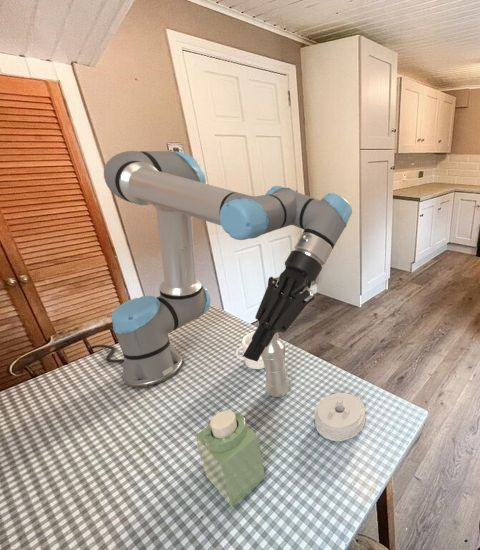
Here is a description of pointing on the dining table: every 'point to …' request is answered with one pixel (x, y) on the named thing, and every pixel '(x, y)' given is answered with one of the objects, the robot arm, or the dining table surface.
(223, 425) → the beige short cylinder
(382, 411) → the dining table surface
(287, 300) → the robot arm
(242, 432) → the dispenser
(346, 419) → the lid
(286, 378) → the plastic bottle
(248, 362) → the mug
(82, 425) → the dining table surface
